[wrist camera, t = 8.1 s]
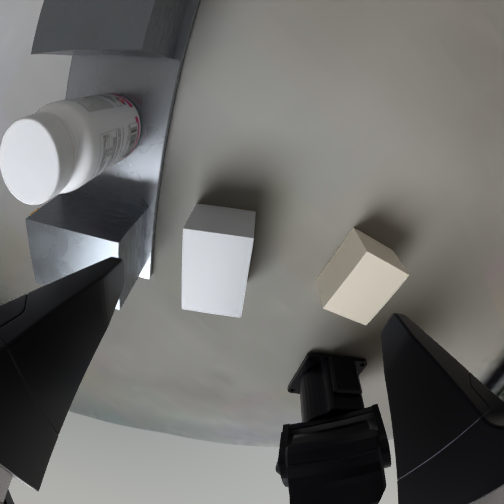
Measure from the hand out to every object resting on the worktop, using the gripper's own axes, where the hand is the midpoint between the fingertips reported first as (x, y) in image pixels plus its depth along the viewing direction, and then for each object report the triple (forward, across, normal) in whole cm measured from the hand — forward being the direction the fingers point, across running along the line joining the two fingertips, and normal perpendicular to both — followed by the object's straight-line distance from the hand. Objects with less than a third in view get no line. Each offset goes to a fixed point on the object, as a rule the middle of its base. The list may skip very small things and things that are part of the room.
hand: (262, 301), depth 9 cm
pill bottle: (+11, +11, -2) cm, 16 cm away
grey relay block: (+12, +2, +5) cm, 13 cm away
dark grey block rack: (+11, +11, -2) cm, 16 cm away
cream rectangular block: (+12, -8, +4) cm, 15 cm away
